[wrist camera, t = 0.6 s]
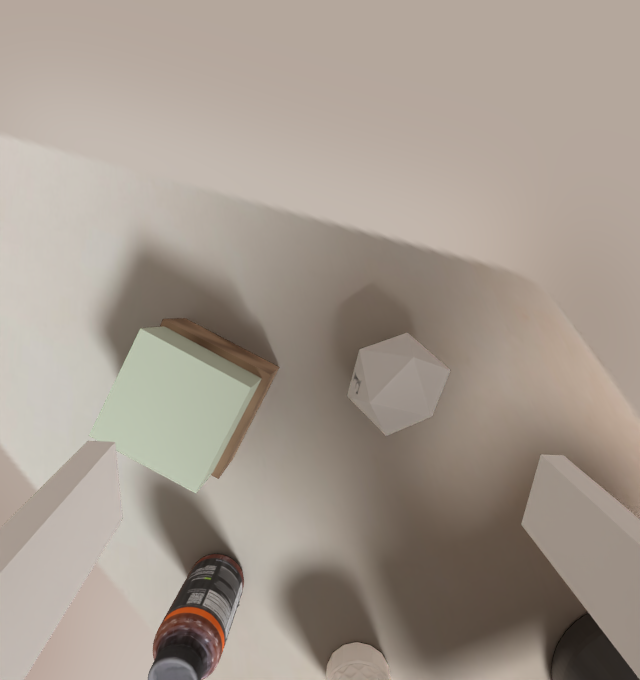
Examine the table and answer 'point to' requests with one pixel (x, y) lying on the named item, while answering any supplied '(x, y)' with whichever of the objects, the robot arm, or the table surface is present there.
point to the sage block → (174, 406)
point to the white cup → (357, 663)
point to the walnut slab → (239, 358)
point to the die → (397, 383)
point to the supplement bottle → (198, 621)
